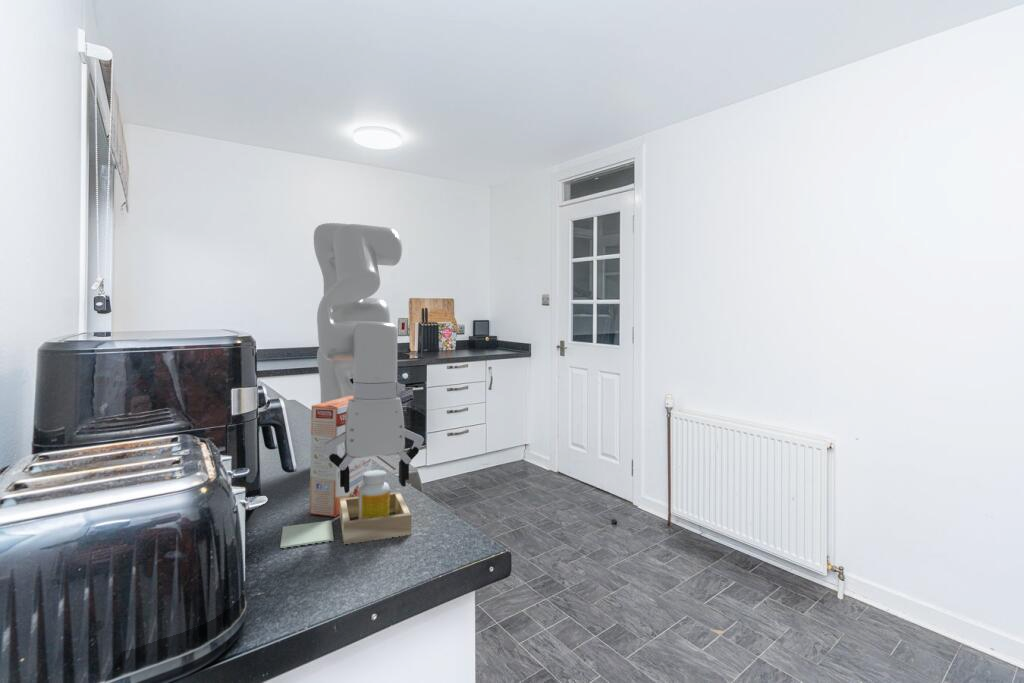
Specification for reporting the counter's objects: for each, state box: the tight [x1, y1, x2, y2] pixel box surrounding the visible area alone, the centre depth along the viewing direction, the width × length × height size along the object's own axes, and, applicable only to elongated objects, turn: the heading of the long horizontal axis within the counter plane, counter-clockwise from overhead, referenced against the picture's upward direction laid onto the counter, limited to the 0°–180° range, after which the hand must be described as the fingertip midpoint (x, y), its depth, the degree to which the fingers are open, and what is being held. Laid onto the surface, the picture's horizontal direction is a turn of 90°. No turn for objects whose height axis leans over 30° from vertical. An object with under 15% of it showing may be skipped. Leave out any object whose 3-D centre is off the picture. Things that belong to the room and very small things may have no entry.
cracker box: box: [309, 396, 373, 518], centre depth 96 cm, size 14×6×21 cm, turn 168°
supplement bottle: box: [357, 469, 391, 520], centre depth 86 cm, size 5×5×10 cm
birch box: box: [339, 491, 412, 546], centre depth 86 cm, size 12×11×4 cm
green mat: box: [279, 520, 334, 549], centre depth 82 cm, size 8×8×1 cm
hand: (375, 487), depth 86 cm, fingers open, 9 cm apart
